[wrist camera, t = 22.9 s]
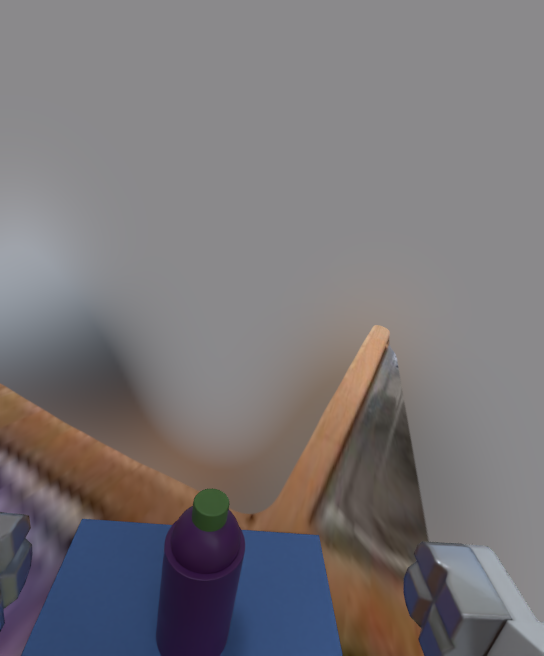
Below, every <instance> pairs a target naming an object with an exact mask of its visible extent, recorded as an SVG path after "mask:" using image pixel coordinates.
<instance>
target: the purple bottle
mask: <svg viewBox="0 0 544 656" xmlns="http://www.w3.org/2000/svg"><path fill="white" fill-rule="evenodd" d="M244 553H245V538H244V535H243V532H242V530H241V529H240V527H239V525H238V522H237V520H236V518H235V516H234V515H233V514H232V513H231V511H230V510H229V499H228V497H227V496H226V494H225V493H223V492H221V491H220V490H217V489H205V490H202V491H201V492H199V493H198V494H197V495H196V496H195V498H194V502H193V506H192V507H190V508H189V509H187V510H186V511H185V512H184V513H183V514H182V515H181V516H180V517H179V519H178V520H177V521H176V522H175V523H174V524H173V525H172V526H171V528H170V529H169V531H168V533H167V535H166V538H165V544H164V554H163V565H162V576H161V586H160V597H159V608H158V618H157V629H156V642H157V647H158V650H159V652H160V654H161V656H220V655H221V653H222V651H223V650H224V648H225V645H226V642H227V639H228V634H229V629H230V624H231V619H232V614H233V609H234V604H235V598H236V593H237V588H238V583H239V578H240V573H241V568H242V563H243V558H244Z"/></svg>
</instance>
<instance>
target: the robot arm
mask: <svg viewBox="0 0 544 656" xmlns="http://www.w3.org/2000/svg"><path fill="white" fill-rule="evenodd" d="M30 528H31V527H30V519H29V516H28V515H23V514H13V513H3V512H0V631H1V629H2V627H3V625H4V624H5V622H4V612H3V609H4V608H6V607H7V606H8V605H10V604H11V603H12V602H13V601H15V600H16V599H17V598H18V596H19V594H20V592H21V590H22V588H23V586H24V584H25V582H26V579H27V575H28V572H29V569H30V566H31V560H32V544H31V543H30V542H29V541H28V540H27V539H26V538H25V537H26V535H27V534H28V532H29V530H30ZM414 555H415V557H416V560H417V562H415V563H414V564H412V565H411V566H410V567H408V569H407V571H406V574H405V577H404V597H405V602H406V606H407V609H408V611H409V614H410V617H411V618H412V619H413V620H414V621H415V622H416V623H417V624H418V625H419V626H420V627H421V631H420V635H419V642H420V645H421V647H422V650H423V653H424V656H544V622H539V621H538V620H537V618H536V617H535V615H534V614H533V612H532V610H531V609H530V608H529V606H528V604H527V603H526V601H525V599H524V598H523V596H522V595H521V593H520V592H519V590H518V589H517V587H516V585H515V584H514V582H513V581H512V579H511V578H510V576H509V574H508V573H507V571H506V570H505V568H504V567H503V565H502V563H501V562H500V560H499V559H498V558H497V556H496V554H495V553H494V551H493V550H492V549H491V548H489V547H488V546H481V545H466V544H465V545H463V544H456V543H438V542H421V543H420V544H418V545H417V547H416V550H415V552H414Z"/></svg>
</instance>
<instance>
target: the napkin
mask: <svg viewBox="0 0 544 656" xmlns="http://www.w3.org/2000/svg"><path fill="white" fill-rule="evenodd" d="M171 526H172V525H163V524H149V523H134V522H120V521H106V520H91V519H82V520H81V523H80V525H79V527H78V529H77V532H76V534H75V536H74V538H73V540H72V543H71V545H70V547H69V549H68V552H67V554H66V556H65V558H64V561H63V563H62V565H61V567H60V570H59V572H58V574H57V576H56V579H55V581H54V583H53V585H52V587H51V590H50V592H49V594H48V596H47V599H46V601H45V603H44V605H43V608H42V610H41V612H40V614H39V617H38V619H37V621H36V623H35V626H34V628H33V630H32V632H31V635H30V637H29V639H28V641H27V643H26V646H25V648H24V650H23V652H22V655H21V656H161V654H160V652H159V650H158V647H157V642H156V629H157V618H158V608H159V597H160V586H161V576H162V565H163V554H164V544H165V538H166V535H167V533H168V531H169V529H170V528H171ZM242 532H243V535H244V538H245V553H244V558H243V563H242V568H241V573H240V578H239V583H238V588H237V593H236V598H235V604H234V609H233V614H232V619H231V624H230V629H229V634H228V639H227V642H226V645H225V648H224V650H223V651H222V653H221V655H220V656H342V651H341V646H340V641H339V636H338V630H337V625H336V620H335V615H334V610H333V605H332V600H331V595H330V590H329V585H328V580H327V574H326V569H325V564H324V559H323V554H322V549H321V544H320V539H319V535H307V534H293V533H278V532H264V531H250V530H242Z"/></svg>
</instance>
